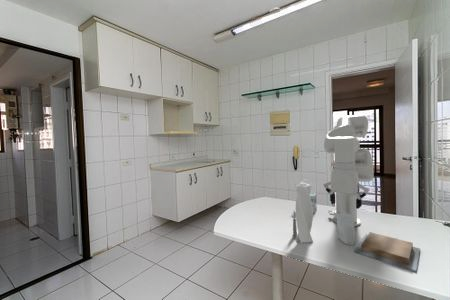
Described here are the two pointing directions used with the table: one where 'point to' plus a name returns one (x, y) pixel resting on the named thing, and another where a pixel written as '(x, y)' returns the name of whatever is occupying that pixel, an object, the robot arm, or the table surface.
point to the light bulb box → (313, 201)
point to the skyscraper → (303, 213)
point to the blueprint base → (389, 250)
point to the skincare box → (346, 228)
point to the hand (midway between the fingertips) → (345, 205)
